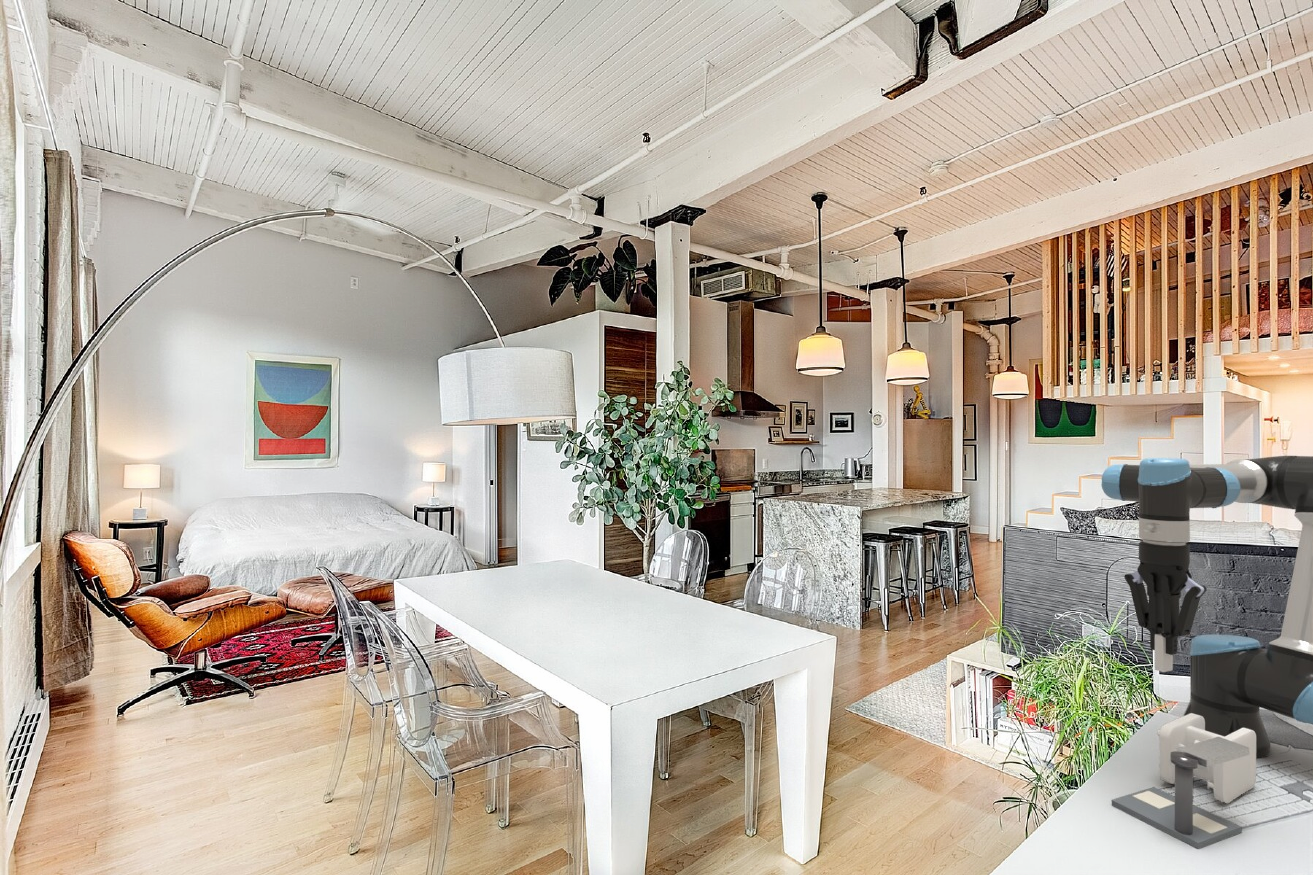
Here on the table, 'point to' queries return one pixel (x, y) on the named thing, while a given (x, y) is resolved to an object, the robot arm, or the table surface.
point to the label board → (1169, 819)
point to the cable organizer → (1221, 777)
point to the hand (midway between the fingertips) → (1163, 669)
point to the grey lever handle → (1208, 753)
